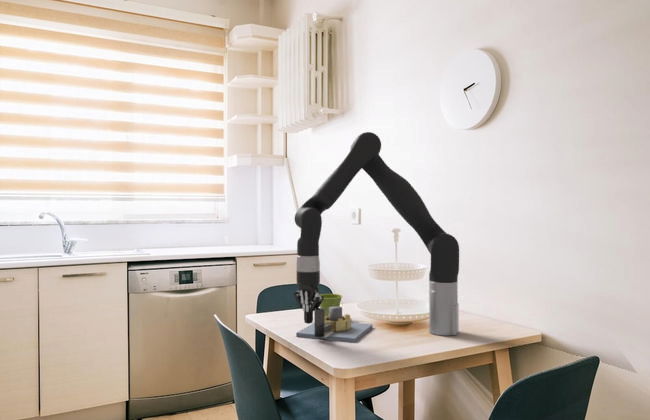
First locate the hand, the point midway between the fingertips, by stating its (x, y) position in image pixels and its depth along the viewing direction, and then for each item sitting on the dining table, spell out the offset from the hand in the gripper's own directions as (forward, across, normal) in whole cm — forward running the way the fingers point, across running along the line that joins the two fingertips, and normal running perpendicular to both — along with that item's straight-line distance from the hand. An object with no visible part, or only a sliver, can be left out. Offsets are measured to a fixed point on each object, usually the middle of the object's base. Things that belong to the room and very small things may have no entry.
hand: (308, 322), depth 157 cm
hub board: (+5, -1, -11) cm, 12 cm away
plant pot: (+5, +15, -23) cm, 28 cm away
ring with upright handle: (+3, -2, -7) cm, 8 cm away
